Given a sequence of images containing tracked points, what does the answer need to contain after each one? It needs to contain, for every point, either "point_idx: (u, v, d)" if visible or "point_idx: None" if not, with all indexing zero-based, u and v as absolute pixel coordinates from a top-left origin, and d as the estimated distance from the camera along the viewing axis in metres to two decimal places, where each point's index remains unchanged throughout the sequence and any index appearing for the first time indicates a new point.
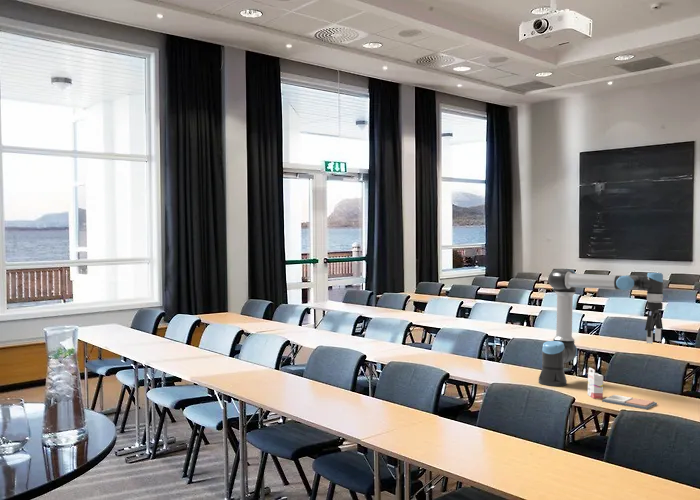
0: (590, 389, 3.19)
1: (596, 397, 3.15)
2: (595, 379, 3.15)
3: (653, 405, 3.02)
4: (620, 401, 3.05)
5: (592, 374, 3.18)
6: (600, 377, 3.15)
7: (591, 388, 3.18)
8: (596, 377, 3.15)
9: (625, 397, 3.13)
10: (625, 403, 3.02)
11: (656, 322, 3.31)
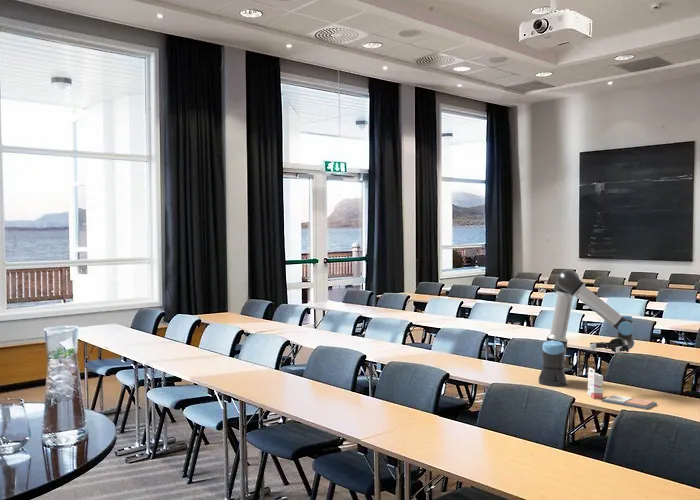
0: (590, 389, 3.19)
1: (596, 397, 3.15)
2: (595, 379, 3.15)
3: (653, 405, 3.02)
4: (620, 401, 3.05)
5: (592, 374, 3.18)
6: (600, 377, 3.15)
7: (591, 388, 3.18)
8: (596, 377, 3.15)
9: (625, 397, 3.13)
10: (625, 403, 3.02)
11: (602, 345, 3.37)
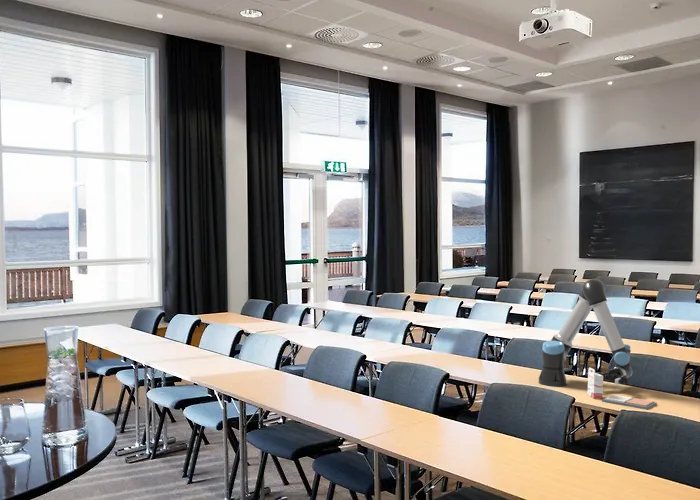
0: (590, 389, 3.19)
1: (596, 397, 3.15)
2: (595, 379, 3.15)
3: (653, 405, 3.02)
4: (620, 401, 3.05)
5: (592, 374, 3.18)
6: (600, 377, 3.15)
7: (591, 388, 3.18)
8: (596, 377, 3.15)
9: (625, 397, 3.13)
10: (625, 403, 3.02)
11: None
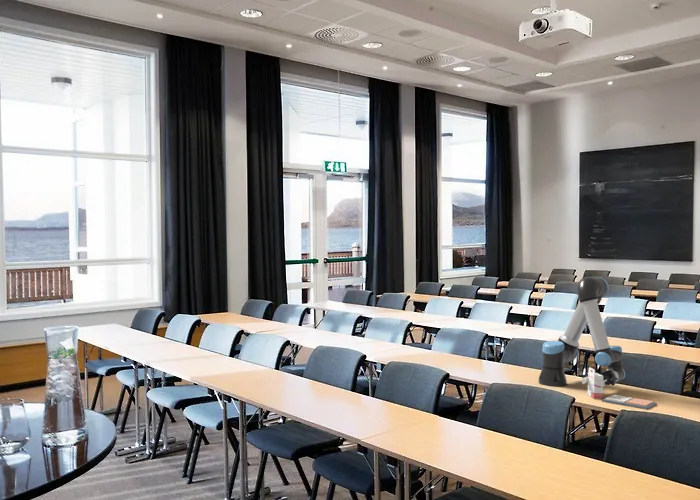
0: (590, 389, 3.19)
1: (596, 397, 3.15)
2: (595, 379, 3.15)
3: (653, 405, 3.02)
4: (620, 401, 3.05)
5: (592, 374, 3.18)
6: (600, 377, 3.15)
7: (591, 388, 3.18)
8: (596, 377, 3.15)
9: (625, 397, 3.13)
10: (625, 403, 3.02)
11: None
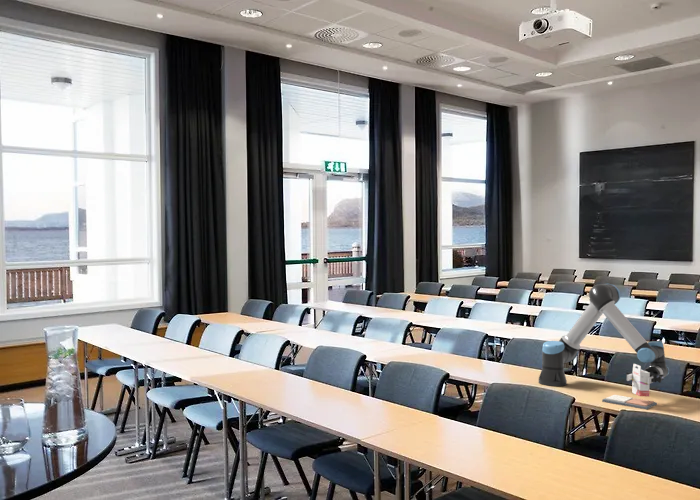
0: (635, 386, 3.04)
1: (642, 395, 3.00)
2: (641, 376, 3.00)
3: (653, 405, 3.02)
4: (620, 401, 3.05)
5: (638, 370, 3.03)
6: (646, 374, 3.00)
7: (637, 385, 3.03)
8: (642, 374, 3.00)
9: (625, 397, 3.13)
10: (625, 403, 3.02)
11: None
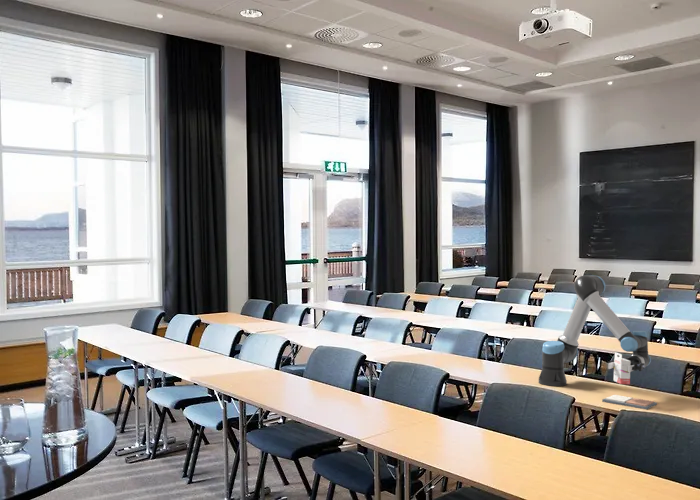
0: (617, 375, 3.10)
1: (623, 382, 3.06)
2: (622, 364, 3.06)
3: (653, 405, 3.02)
4: (620, 401, 3.05)
5: (619, 359, 3.09)
6: (627, 362, 3.06)
7: (618, 373, 3.09)
8: (623, 362, 3.06)
9: (625, 397, 3.13)
10: (625, 403, 3.02)
11: None
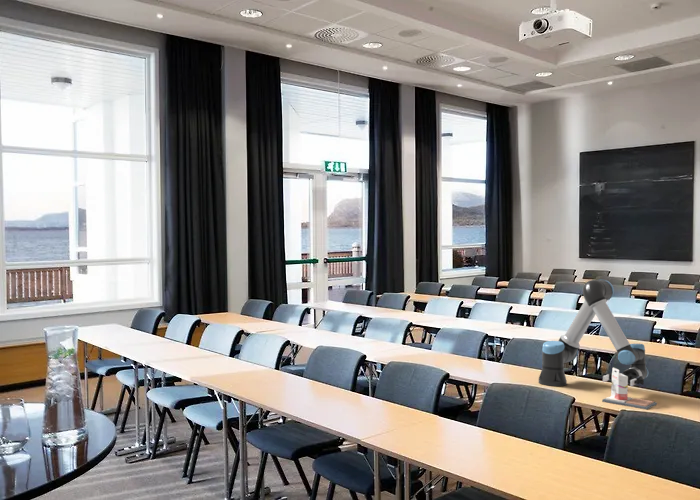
0: (614, 390, 3.11)
1: (620, 398, 3.07)
2: (619, 379, 3.07)
3: (653, 405, 3.02)
4: (620, 401, 3.05)
5: (616, 374, 3.09)
6: (625, 377, 3.07)
7: (615, 389, 3.10)
8: (620, 377, 3.07)
9: None
10: (625, 403, 3.02)
11: None
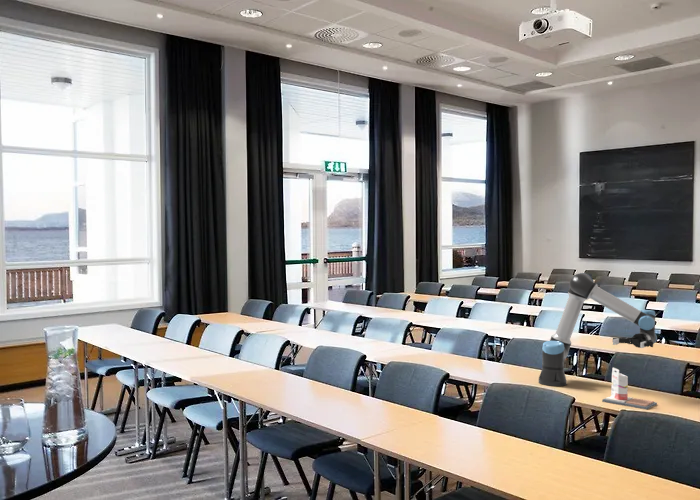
0: (614, 390, 3.11)
1: (620, 398, 3.07)
2: (619, 380, 3.07)
3: (653, 405, 3.02)
4: (620, 401, 3.05)
5: (616, 374, 3.09)
6: (625, 377, 3.07)
7: (615, 389, 3.10)
8: (620, 377, 3.07)
9: None
10: (625, 403, 3.02)
11: (625, 340, 3.29)
